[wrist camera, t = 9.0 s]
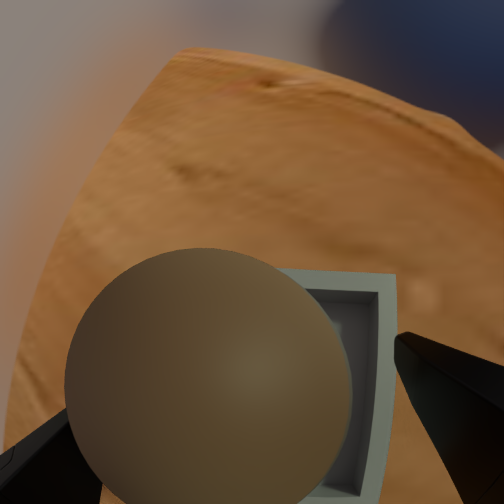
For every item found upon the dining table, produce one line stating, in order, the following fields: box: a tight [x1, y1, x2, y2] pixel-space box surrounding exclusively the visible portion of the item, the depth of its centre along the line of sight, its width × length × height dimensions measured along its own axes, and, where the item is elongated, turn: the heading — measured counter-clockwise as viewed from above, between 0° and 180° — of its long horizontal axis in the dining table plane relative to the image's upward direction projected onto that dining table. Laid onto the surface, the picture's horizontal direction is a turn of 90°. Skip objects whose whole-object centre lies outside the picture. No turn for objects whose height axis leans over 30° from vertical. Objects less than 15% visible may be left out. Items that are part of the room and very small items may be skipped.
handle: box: [64, 248, 353, 504], centre depth 9 cm, size 5×5×12 cm
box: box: [276, 268, 397, 504], centre depth 14 cm, size 12×12×3 cm
